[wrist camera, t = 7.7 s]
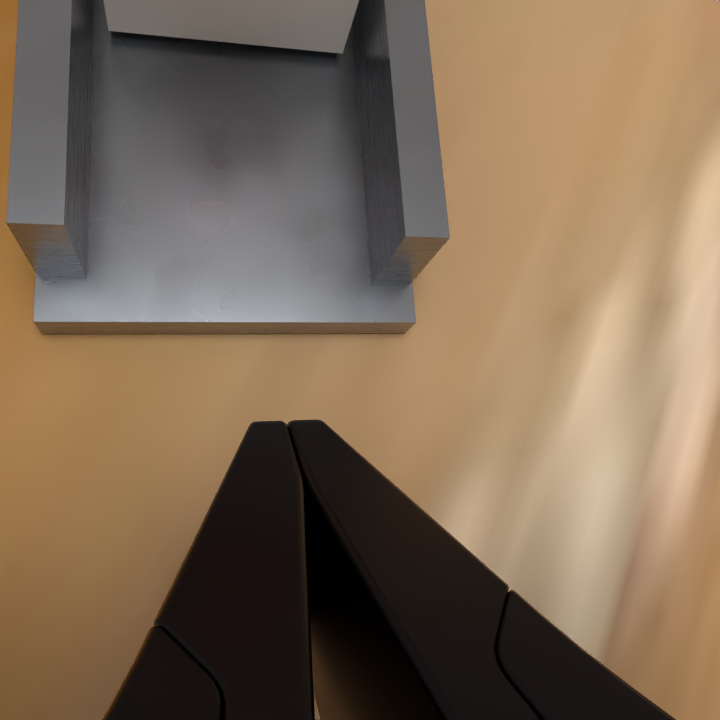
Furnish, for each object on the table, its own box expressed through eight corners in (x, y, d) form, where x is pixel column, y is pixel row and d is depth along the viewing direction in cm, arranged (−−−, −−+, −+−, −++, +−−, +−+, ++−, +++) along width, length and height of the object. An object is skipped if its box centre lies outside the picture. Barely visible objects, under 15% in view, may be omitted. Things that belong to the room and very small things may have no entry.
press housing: (404, 333, 18) (476, 263, 14) (42, 333, 16) (-18, 251, 12) (366, -105, 22) (414, -282, 17) (62, -152, 20) (21, -369, 15)
